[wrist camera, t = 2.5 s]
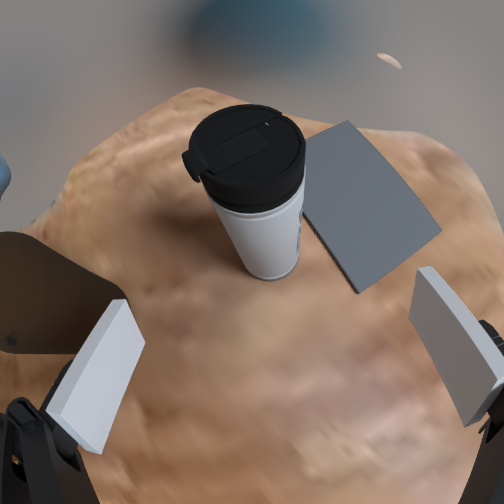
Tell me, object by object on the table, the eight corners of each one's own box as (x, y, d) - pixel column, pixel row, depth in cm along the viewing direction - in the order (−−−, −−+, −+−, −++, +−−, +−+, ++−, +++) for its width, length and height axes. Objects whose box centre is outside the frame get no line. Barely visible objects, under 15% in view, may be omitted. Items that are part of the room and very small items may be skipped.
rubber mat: (264, 162, 37) (264, 160, 36) (347, 123, 37) (347, 120, 37) (358, 294, 30) (359, 293, 29) (440, 232, 31) (442, 230, 30)
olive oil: (149, 298, 33) (-34, 206, 9) (117, 374, 30) (-74, 369, 7) (91, 264, 35) (-57, 175, 12) (63, 332, 33) (-95, 290, 9)
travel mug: (230, 248, 33) (163, 131, 15) (278, 218, 34) (263, 80, 15) (258, 294, 31) (213, 211, 13) (309, 261, 32) (333, 143, 13)
